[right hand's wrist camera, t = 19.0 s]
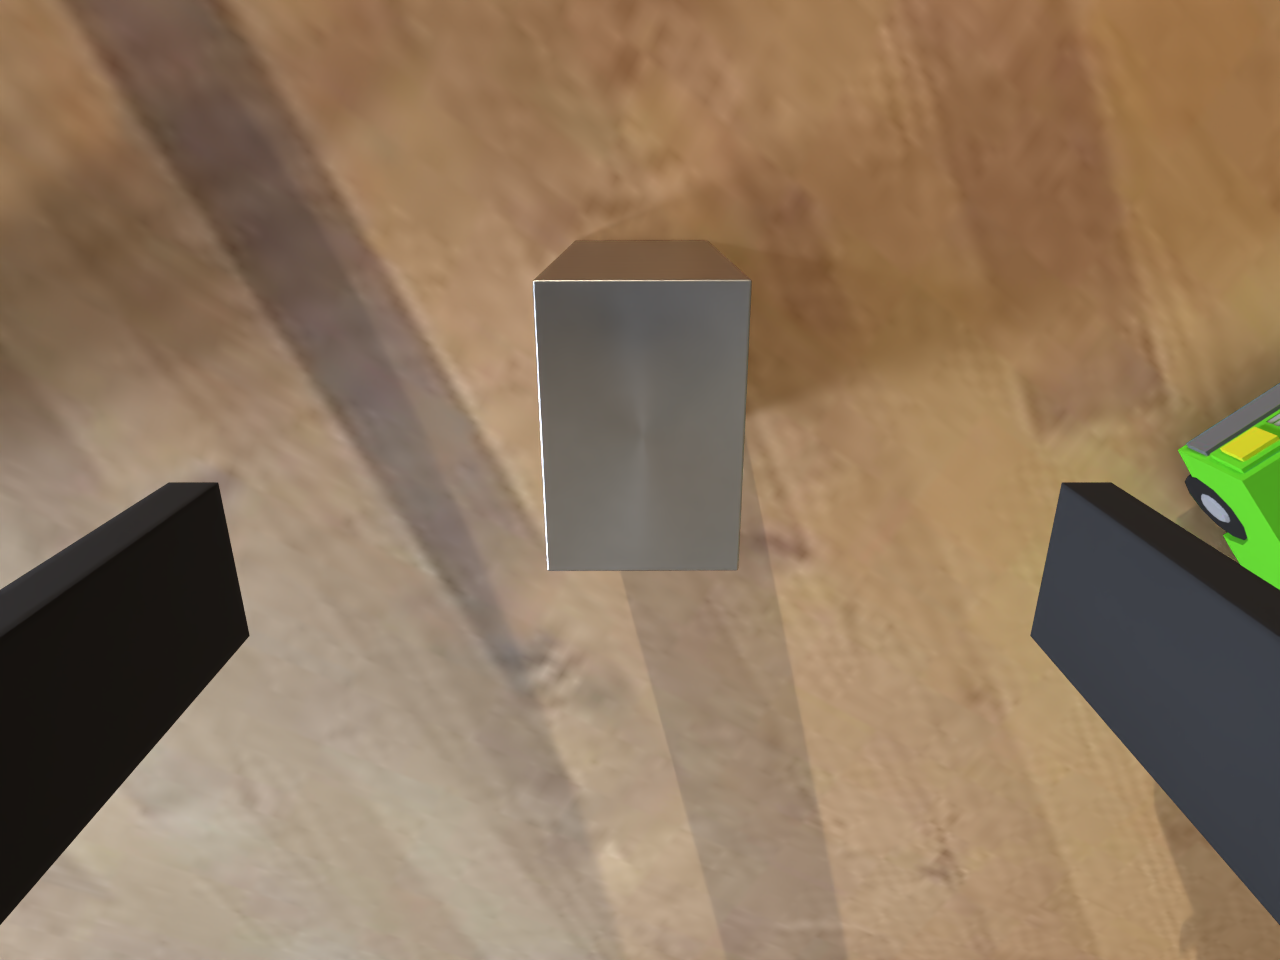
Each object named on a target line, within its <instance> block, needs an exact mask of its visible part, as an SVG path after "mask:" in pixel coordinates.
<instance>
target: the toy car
mask: <svg viewBox="0 0 1280 960" xmlns="http://www.w3.org/2000/svg"><path fill="white" fill-rule="evenodd" d="M1178 451H1179V453H1180V455H1181V457H1182V459H1183V460H1184V462H1185V464H1186V466H1187V468H1188V470H1189V472H1190V474H1191V475H1189V476H1188V477H1187V479H1186V480H1185V483H1186V486H1187V488H1188V490H1189V493H1190V494H1191V496H1192V497H1193V498H1194V500H1195V501H1196V502H1197V504H1198V505H1199V506H1200V508H1201V509H1202V510H1203V511H1204V512H1205V513H1206V514H1207V515H1208V516H1209V517H1210V518H1211V519H1212V520H1213V521H1214V522H1215V523H1216V524H1217V525H1219V526H1220V527H1221V528H1223V529H1224V530H1225V531H1227V533H1225V534H1224V535H1223V536H1224V538H1225V539H1226V541H1227V543H1228V545H1229V547H1230V548H1231V550H1232V552H1233V553H1234V555H1235V557H1236V558H1237V560H1238V562H1239V563H1240V565H1241V566H1243V567H1245V568H1246V569H1248V570H1249V571H1251V572H1252V573H1254V574H1256V575H1257V576H1259V577H1260V578H1262V579H1263V580H1265V581H1267V582H1268V583H1270V584H1271V585H1273V586H1274V587H1276V588H1278V589H1279V590H1280V383H1279V384H1277V385H1276V386H1274V387H1273V388H1271V389H1270V390H1268V391H1267V392H1265V393H1264V394H1262V395H1260V396H1259V397H1257V398H1256V399H1254V400H1253V401H1251V402H1250V403H1248V404H1247V405H1245V406H1243V407H1242V408H1240V409H1239V410H1237V411H1236V412H1234V413H1233V414H1231V415H1229V416H1228V417H1226V418H1225V419H1223V420H1222V421H1220V422H1219V423H1217V424H1216V425H1214V426H1212V427H1211V428H1209V429H1208V430H1206V431H1205V432H1203V433H1202V434H1200V435H1199V436H1197V437H1195V438H1194V439H1192V440H1191V441H1189V442H1188V443H1186V445H1185V446H1183V447H1182V448H1180V449H1179V450H1178Z"/></svg>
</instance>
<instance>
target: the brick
mask: <svg viewBox="0 0 1280 960" xmlns="http://www.w3.org/2000/svg"><path fill="white" fill-rule="evenodd" d="M751 287H752V281H751V279H750V278H749V277H748V276H746V275H745V274H744V273H743V272H742V271H741V270H740V269H739V268H737V267H736V266H735V265H734V264H733V263H732V262H731V261H730V260H729V259H727V258H726V257H725V256H724V255H723V254H722V253H721V252H720V251H718V250H717V249H716V248H715V247H714V246H713V245H712V244H711V243H710V242H708V241H707V240H618V241H575V242H574V243H572V244H571V245H570V246H569V247H568V248H567V249H566V250H565V251H564V252H563V253H562V254H561V255H560V256H559V257H558V258H557V259H556V260H554V261H553V262H552V263H551V264H550V265H549V266H548V267H547V268H546V269H545V270H544V271H543V272H542V273H541V274H540V275H539V276H537V277H536V278H535V279H534V280H533V298H534V317H535V337H536V357H537V376H538V396H539V415H540V435H541V455H542V474H543V494H544V513H545V533H546V553H547V569H548V571H672V570H738V565H739V544H740V522H741V501H742V480H743V458H744V437H745V416H746V394H747V373H748V351H749V330H750V309H751Z"/></svg>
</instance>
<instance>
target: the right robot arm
mask: <svg viewBox="0 0 1280 960" xmlns="http://www.w3.org/2000/svg"><path fill="white" fill-rule="evenodd" d="M248 637H249V631H248V626H247V621H246V616H245V611H244V606H243V601H242V597H241V592H240V587H239V582H238V577H237V572H236V567H235V562H234V558H233V553H232V548H231V543H230V538H229V533H228V528H227V523H226V519H225V514H224V509H223V504H222V499H221V494H220V489H219V484H218V483H167V484H166V485H164V486H163V487H161V488H160V489H158V490H156V491H155V492H153V493H152V494H150V495H149V496H147V497H145V498H144V499H142V500H141V501H139V502H138V503H136V504H134V505H133V506H131V507H130V508H128V509H127V510H125V511H123V512H122V513H120V514H119V515H117V516H116V517H114V518H112V519H111V520H109V521H108V522H106V523H105V524H103V525H101V526H100V527H98V528H97V529H95V530H94V531H92V532H90V533H89V534H87V535H86V536H84V537H83V538H81V539H79V540H78V541H76V542H75V543H73V544H72V545H70V546H68V547H67V548H65V549H64V550H62V551H61V552H59V553H57V554H56V555H54V556H53V557H51V558H50V559H48V560H46V561H45V562H43V563H42V564H40V565H39V566H37V567H35V568H34V569H32V570H31V571H29V572H28V573H26V574H24V575H23V576H21V577H20V578H18V579H17V580H15V581H13V582H12V583H10V584H9V585H7V586H6V587H4V588H2V589H1V590H0V925H1V924H2V922H3V921H4V920H5V919H6V918H7V917H8V915H9V914H10V913H11V912H12V911H13V910H14V908H15V907H16V906H17V905H18V904H19V903H20V901H21V900H22V899H23V898H24V897H25V896H26V895H27V893H28V892H29V891H30V890H31V889H32V888H33V886H34V885H35V884H36V883H37V882H38V881H39V879H40V878H41V877H42V876H43V875H44V874H45V872H46V871H47V870H48V869H49V868H50V867H51V865H52V864H53V863H54V862H55V861H56V860H57V859H58V857H59V856H60V855H61V854H62V853H63V852H64V850H65V849H66V848H67V847H68V846H69V845H70V843H71V842H72V841H73V840H74V839H75V838H76V836H77V835H78V834H79V833H80V832H81V831H82V830H83V828H84V827H85V826H86V825H87V824H88V823H89V821H90V820H91V819H92V818H93V817H94V816H95V814H96V813H97V812H98V811H99V810H100V809H101V807H102V806H103V805H104V804H105V803H106V802H107V801H108V799H109V798H110V797H111V796H112V795H113V794H114V792H115V791H116V790H117V789H118V788H119V787H120V785H121V784H122V783H123V782H124V781H125V780H126V778H127V777H128V776H129V775H130V774H131V773H132V772H133V770H134V769H135V768H136V767H137V766H138V765H139V763H140V762H141V761H142V760H143V759H144V758H145V756H146V755H147V754H148V753H149V752H150V751H151V749H152V748H153V747H154V746H155V745H156V744H157V743H158V741H159V740H160V739H161V738H162V737H163V736H164V734H165V733H166V732H167V731H168V730H169V729H170V727H171V726H172V725H173V724H174V723H175V722H176V720H177V719H178V718H179V717H180V716H181V715H182V714H183V712H184V711H185V710H186V709H187V708H188V707H189V705H190V704H191V703H192V702H193V701H194V700H195V698H196V697H197V696H198V695H199V694H200V693H201V691H202V690H203V689H204V688H205V687H206V686H207V685H208V683H209V682H210V681H211V680H212V679H213V678H214V676H215V675H216V674H217V673H218V672H219V671H220V669H221V668H222V667H223V666H224V665H225V664H226V662H227V661H228V660H229V659H230V658H231V657H232V656H233V654H234V653H235V652H236V651H237V650H238V649H239V647H240V646H241V645H242V644H243V643H244V642H245V640H246V639H247V638H248ZM1031 637H1032V638H1033V639H1034V640H1035V642H1036V643H1037V644H1038V645H1039V646H1040V647H1041V649H1042V650H1043V651H1044V652H1045V653H1046V654H1047V656H1048V657H1049V658H1050V659H1051V660H1052V661H1053V662H1054V664H1055V665H1056V666H1057V667H1058V668H1059V669H1060V671H1061V672H1062V673H1063V674H1064V675H1065V676H1066V678H1067V679H1068V680H1069V681H1070V682H1071V683H1072V685H1073V686H1074V687H1075V688H1076V689H1077V690H1078V691H1079V693H1080V694H1081V695H1082V696H1083V697H1084V698H1085V700H1086V701H1087V702H1088V703H1089V704H1090V705H1091V707H1092V708H1093V709H1094V710H1095V711H1096V712H1097V714H1098V715H1099V716H1100V717H1101V718H1102V719H1103V720H1104V722H1105V723H1106V724H1107V725H1108V726H1109V727H1110V729H1111V730H1112V731H1113V732H1114V733H1115V734H1116V736H1117V737H1118V738H1119V739H1120V740H1121V741H1122V743H1123V744H1124V745H1125V746H1126V747H1127V748H1128V749H1129V751H1130V752H1131V753H1132V754H1133V755H1134V756H1135V758H1136V759H1137V760H1138V761H1139V762H1140V763H1141V765H1142V766H1143V767H1144V768H1145V769H1146V770H1147V772H1148V773H1149V774H1150V775H1151V776H1152V777H1153V778H1154V780H1155V781H1156V782H1157V783H1158V784H1159V785H1160V787H1161V788H1162V789H1163V790H1164V791H1165V792H1166V794H1167V795H1168V796H1169V797H1170V798H1171V799H1172V801H1173V802H1174V803H1175V804H1176V805H1177V806H1178V807H1179V809H1180V810H1181V811H1182V812H1183V813H1184V814H1185V816H1186V817H1187V818H1188V819H1189V820H1190V821H1191V823H1192V824H1193V825H1194V826H1195V827H1196V828H1197V830H1198V831H1199V832H1200V833H1201V834H1202V835H1203V836H1204V838H1205V839H1206V840H1207V841H1208V842H1209V843H1210V845H1211V846H1212V847H1213V848H1214V849H1215V850H1216V852H1217V853H1218V854H1219V855H1220V856H1221V857H1222V859H1223V860H1224V861H1225V862H1226V863H1227V864H1228V865H1229V867H1230V868H1231V869H1232V870H1233V871H1234V872H1235V874H1236V875H1237V876H1238V877H1239V878H1240V879H1241V881H1242V882H1243V883H1244V884H1245V885H1246V886H1247V888H1248V889H1249V890H1250V891H1251V892H1252V893H1253V895H1254V896H1255V897H1256V898H1257V899H1258V900H1259V901H1260V903H1261V904H1262V905H1263V906H1264V907H1265V908H1266V910H1267V911H1268V912H1269V913H1270V914H1271V915H1272V917H1273V918H1274V919H1275V920H1276V921H1277V922H1278V924H1279V925H1280V590H1279V589H1278V588H1276V587H1274V586H1273V585H1271V584H1270V583H1268V582H1267V581H1265V580H1263V579H1262V578H1260V577H1259V576H1257V575H1256V574H1254V573H1252V572H1251V571H1249V570H1248V569H1246V568H1245V567H1243V566H1241V565H1240V564H1238V563H1237V562H1235V561H1234V560H1232V559H1230V558H1229V557H1227V556H1226V555H1224V554H1223V553H1221V552H1219V551H1218V550H1216V549H1215V548H1213V547H1212V546H1210V545H1208V544H1207V543H1205V542H1204V541H1202V540H1201V539H1199V538H1197V537H1196V536H1194V535H1193V534H1191V533H1190V532H1188V531H1186V530H1185V529H1183V528H1182V527H1180V526H1179V525H1177V524H1175V523H1174V522H1172V521H1171V520H1169V519H1168V518H1166V517H1164V516H1163V515H1161V514H1160V513H1158V512H1157V511H1155V510H1153V509H1152V508H1150V507H1149V506H1147V505H1146V504H1144V503H1142V502H1141V501H1139V500H1138V499H1136V498H1135V497H1133V496H1131V495H1130V494H1128V493H1127V492H1125V491H1124V490H1122V489H1120V488H1119V487H1117V486H1116V485H1114V484H1113V483H1062V484H1061V489H1060V494H1059V499H1058V504H1057V509H1056V514H1055V519H1054V523H1053V528H1052V533H1051V538H1050V543H1049V548H1048V553H1047V558H1046V562H1045V567H1044V572H1043V577H1042V582H1041V587H1040V592H1039V597H1038V601H1037V606H1036V611H1035V616H1034V621H1033V626H1032V631H1031Z"/></svg>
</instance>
